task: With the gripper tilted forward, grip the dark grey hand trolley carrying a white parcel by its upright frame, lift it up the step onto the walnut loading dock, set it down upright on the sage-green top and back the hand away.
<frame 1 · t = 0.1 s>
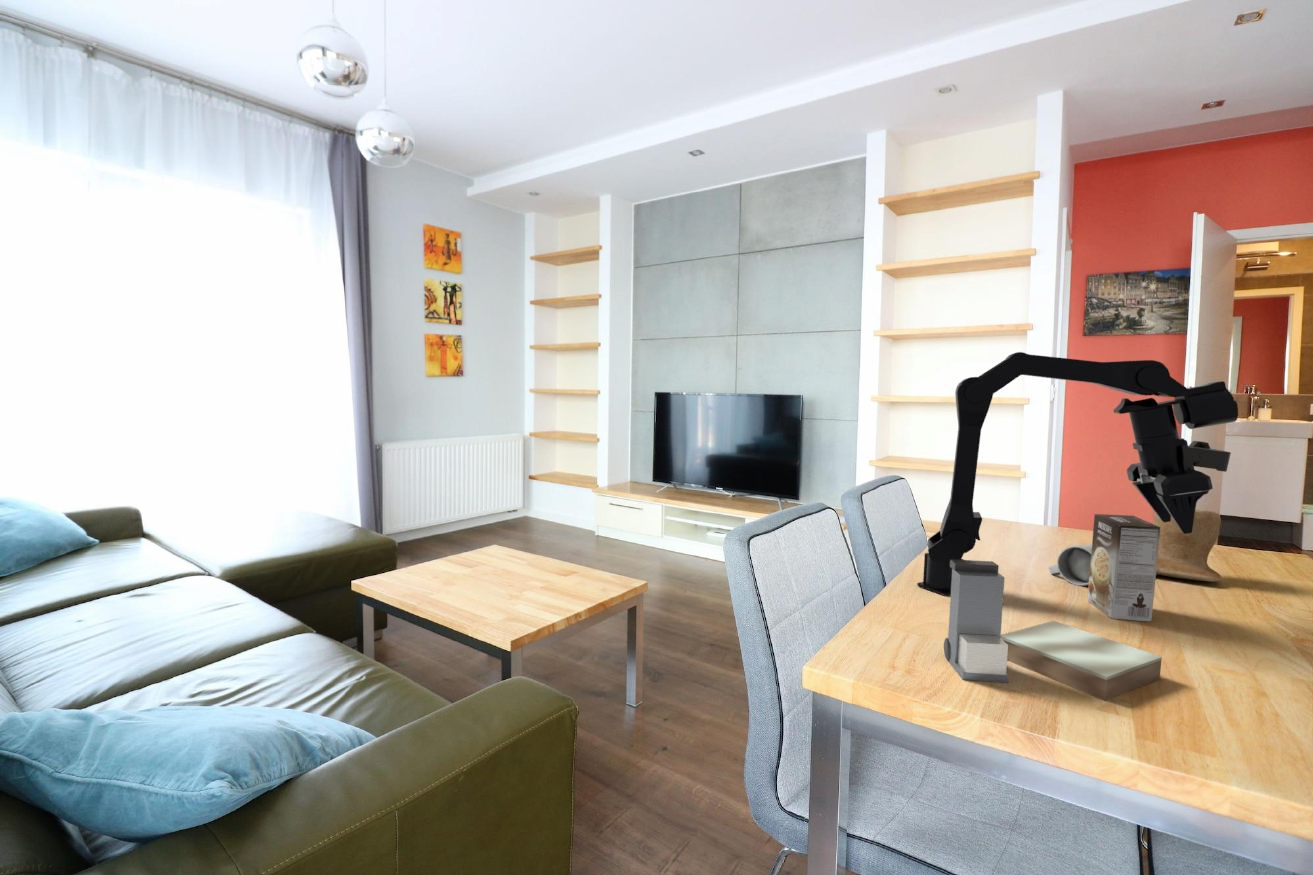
hand: (1176, 527, 104), 15 cm above the table, tool pointing down, fingers open, 9 cm apart
loading dock: (1075, 666, 87), on the table
ceramic mug: (1078, 581, 126), on the table
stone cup: (1171, 576, 131), on the table
hand trolley: (971, 665, 86), on the table
coffee box: (1118, 612, 109), on the table
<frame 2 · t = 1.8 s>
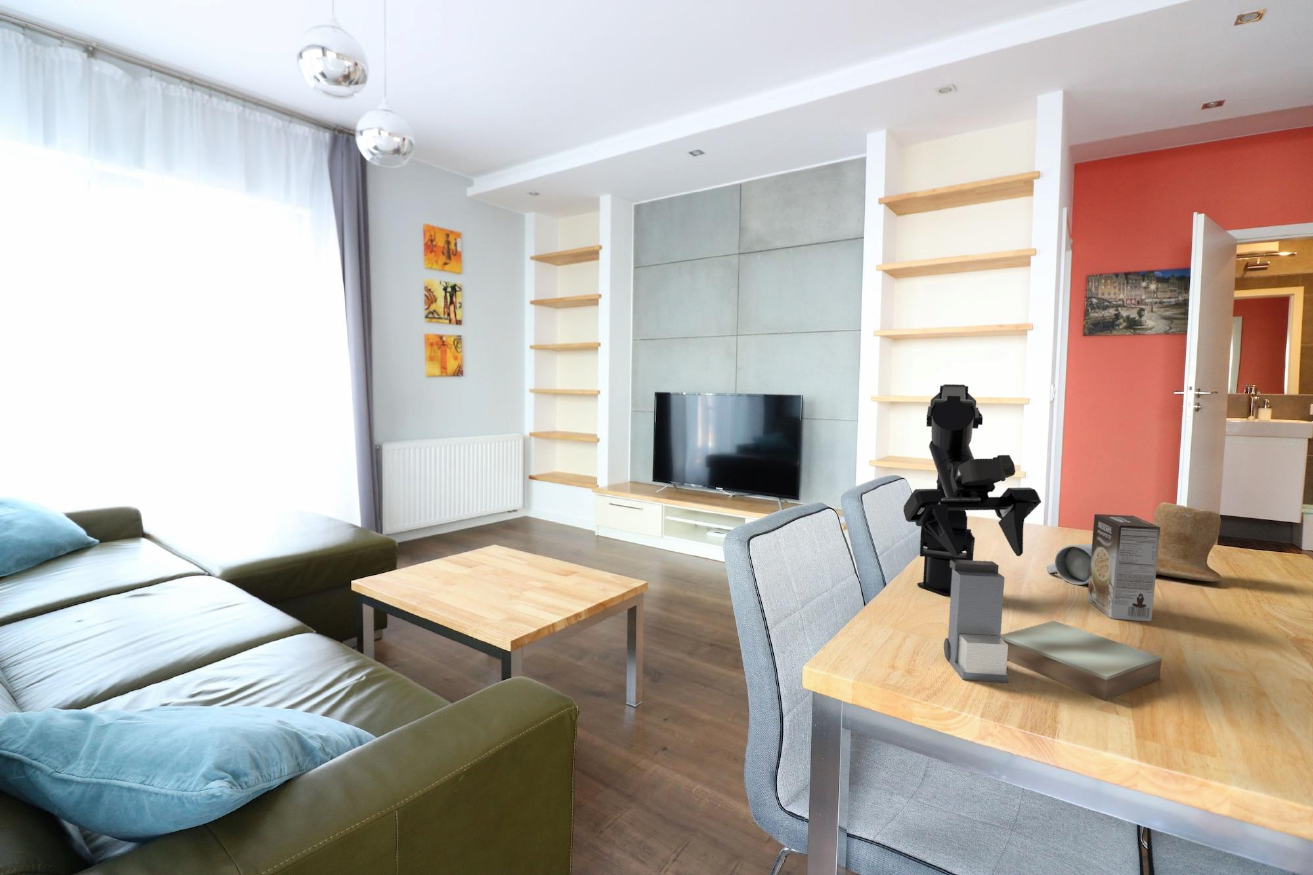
hand: (988, 555, 92), 14 cm above the table, tool tilted 40°, fingers open, 9 cm apart
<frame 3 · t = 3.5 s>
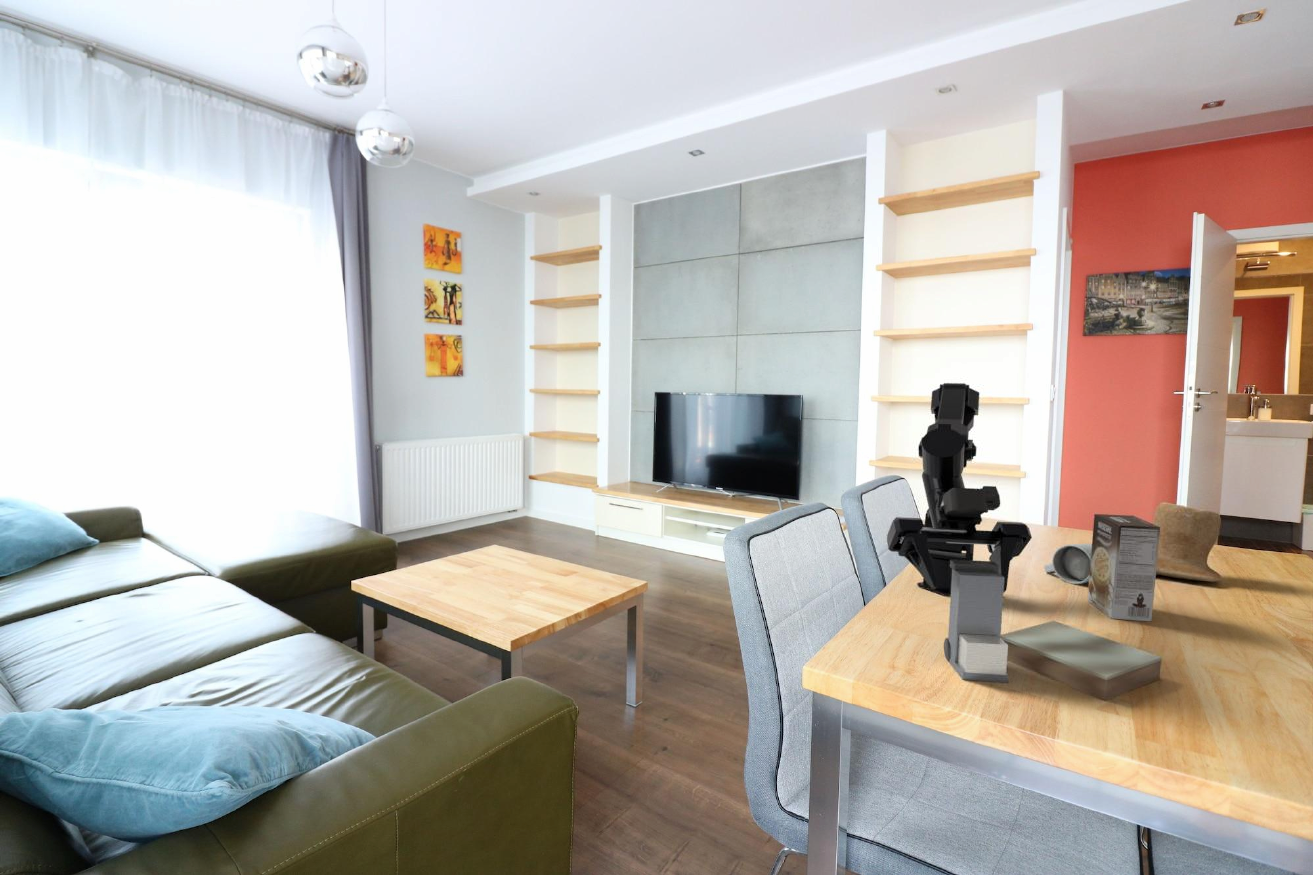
hand: (969, 589, 88), 10 cm above the table, tool tilted 45°, fingers open, 9 cm apart
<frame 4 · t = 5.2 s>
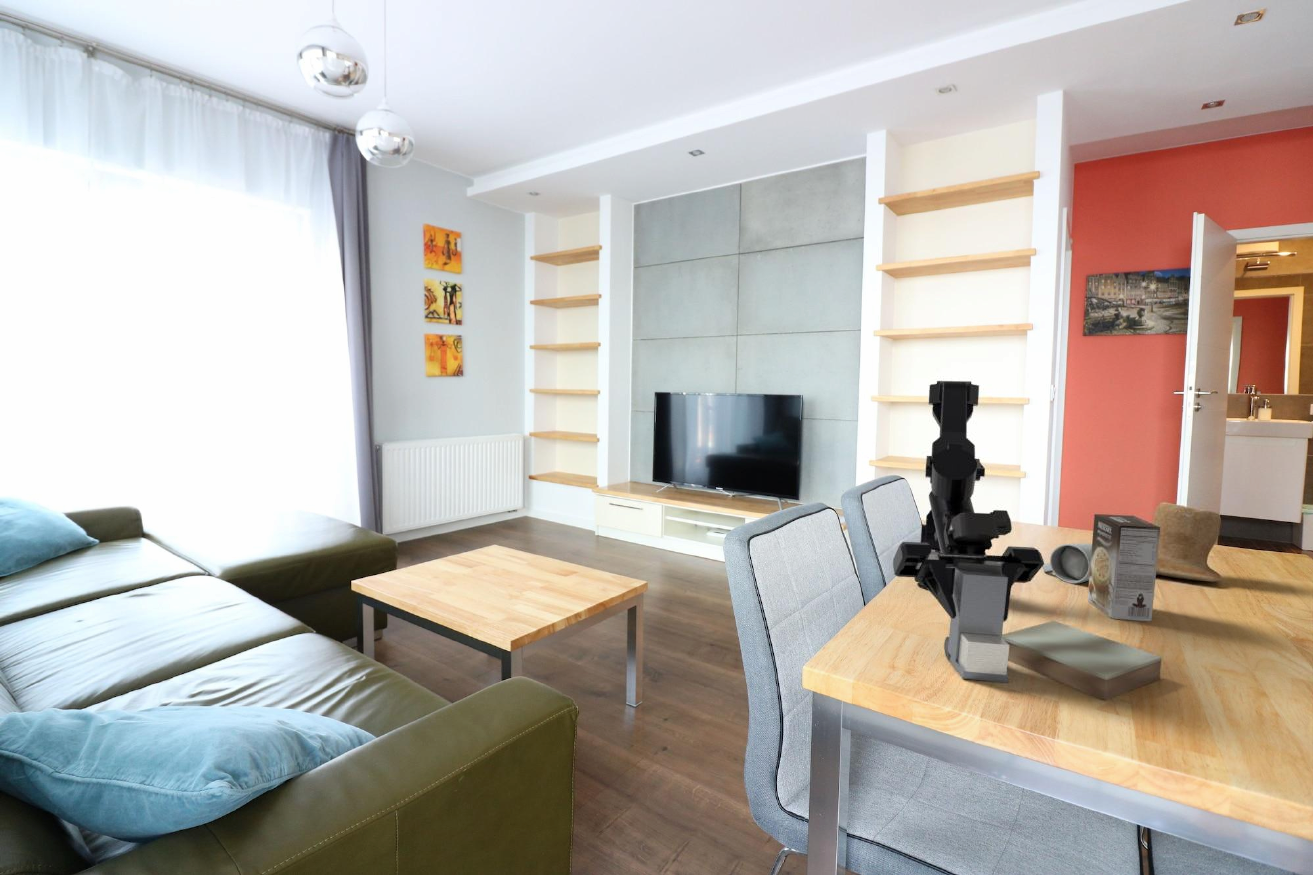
hand: (979, 618, 84), 7 cm above the table, tool tilted 45°, fingers closed on hand trolley, 6 cm apart
hand trolley: (972, 664, 86), on the table, touching gripper
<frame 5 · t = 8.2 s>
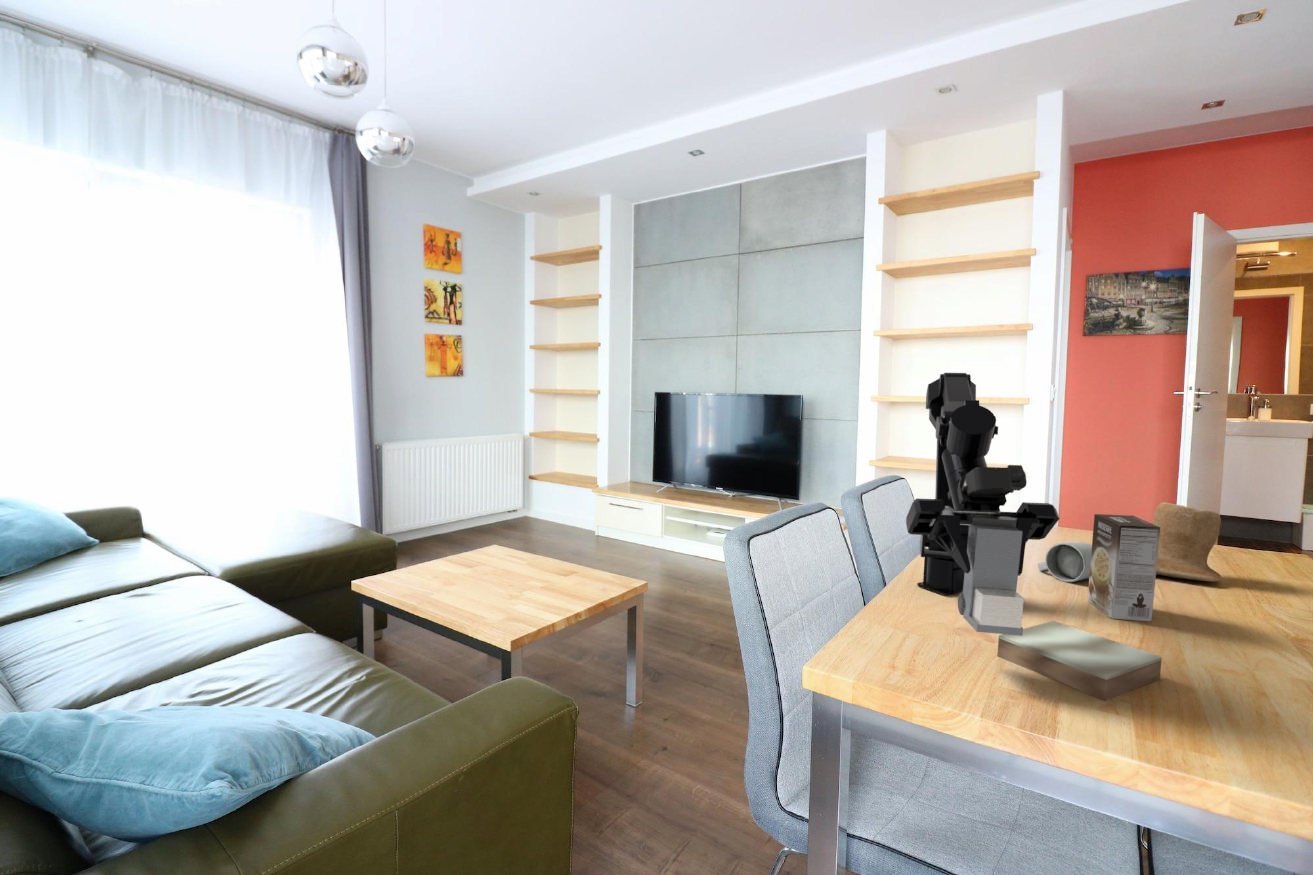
hand: (993, 573, 84), 13 cm above the table, tool tilted 45°, fingers closed on hand trolley, 6 cm apart
hand trolley: (985, 620, 86), point 6 cm above the table, touching gripper
when the fingers open (11 cm above the table, at t = 11.0 s): hand trolley drops 1 cm, resting on loading dock.
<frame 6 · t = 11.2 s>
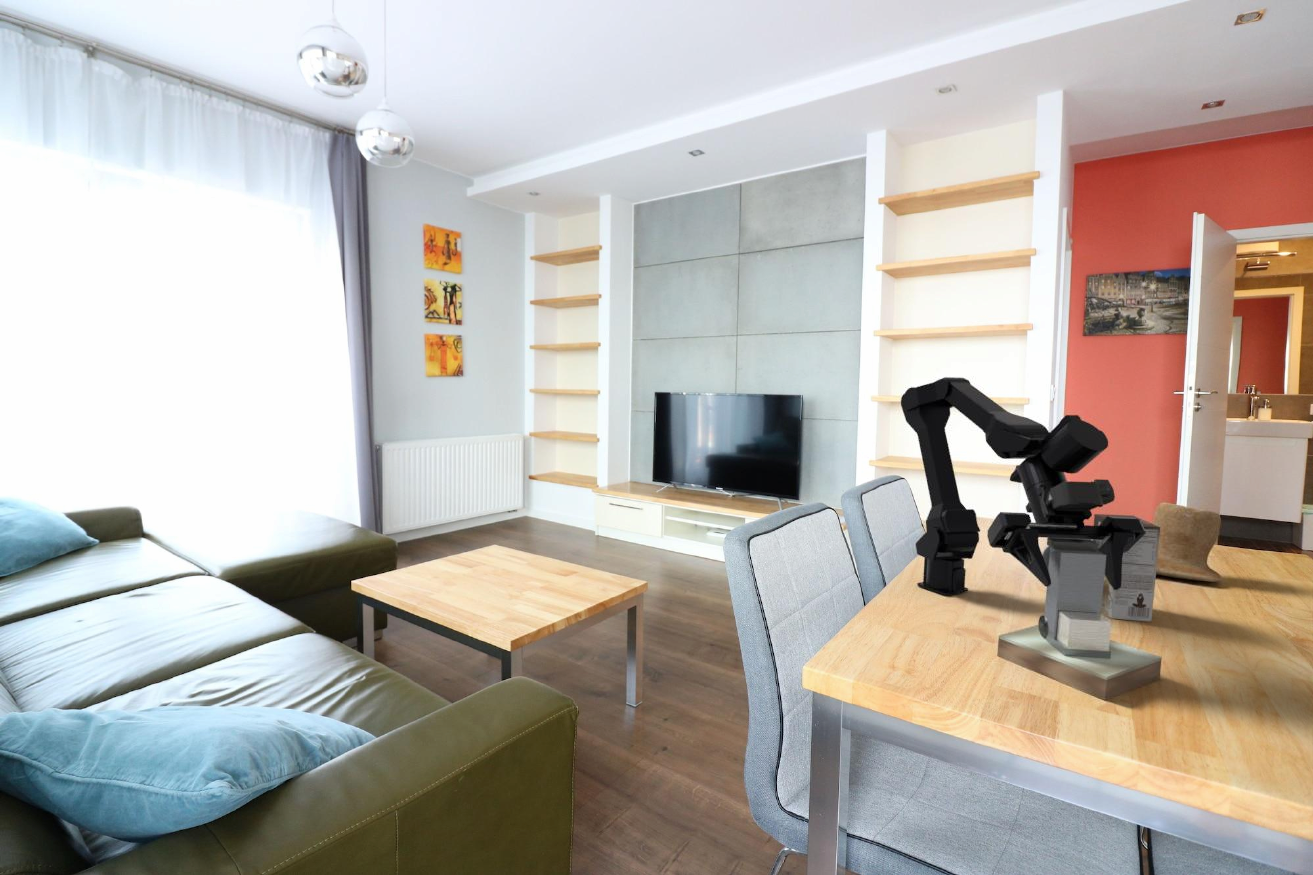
hand: (1083, 586, 85), 12 cm above the table, tool tilted 45°, fingers open, 8 cm apart
hand trolley: (1069, 642, 87), point 3 cm above the table, touching loading dock
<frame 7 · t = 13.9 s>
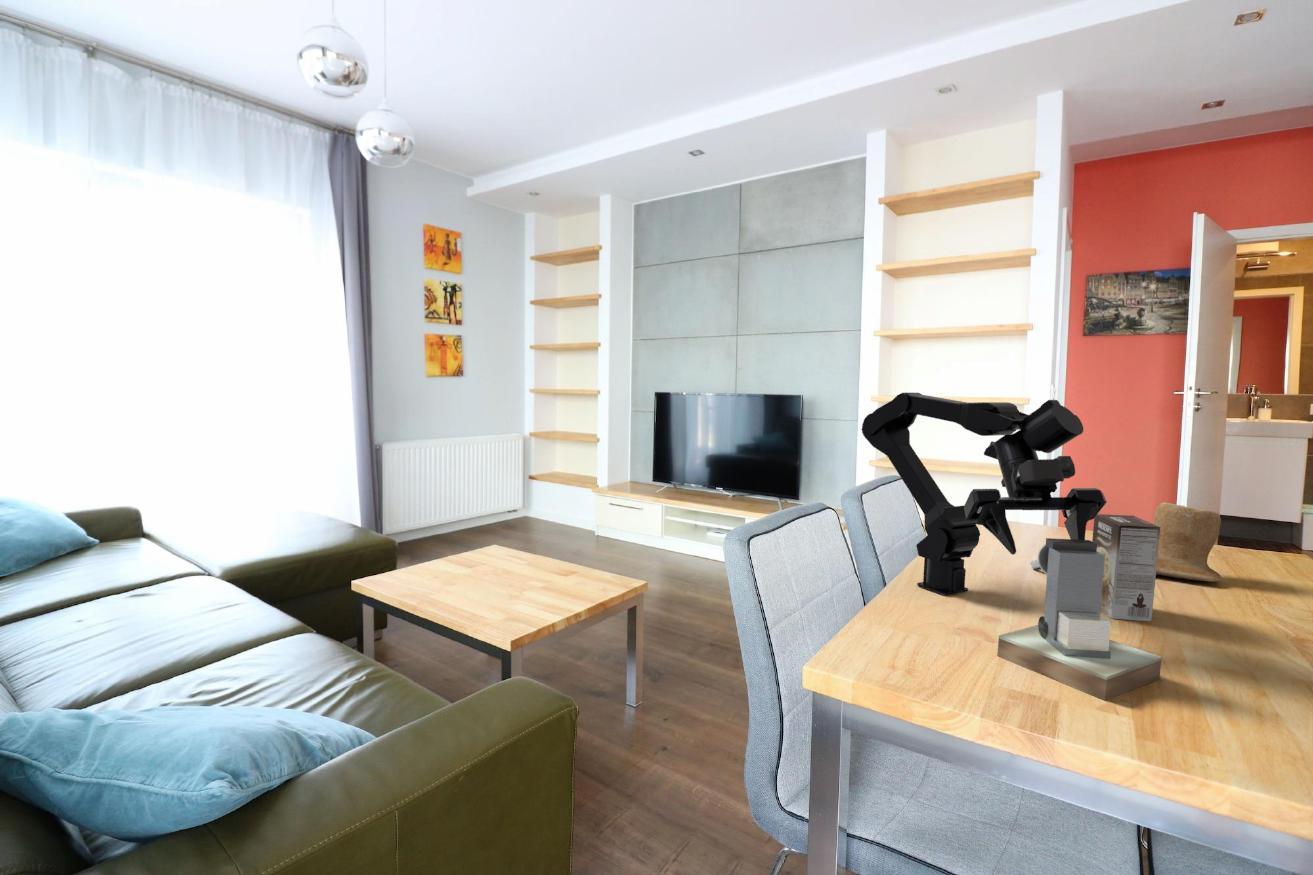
hand: (1047, 553, 94), 13 cm above the table, tool tilted 40°, fingers open, 9 cm apart
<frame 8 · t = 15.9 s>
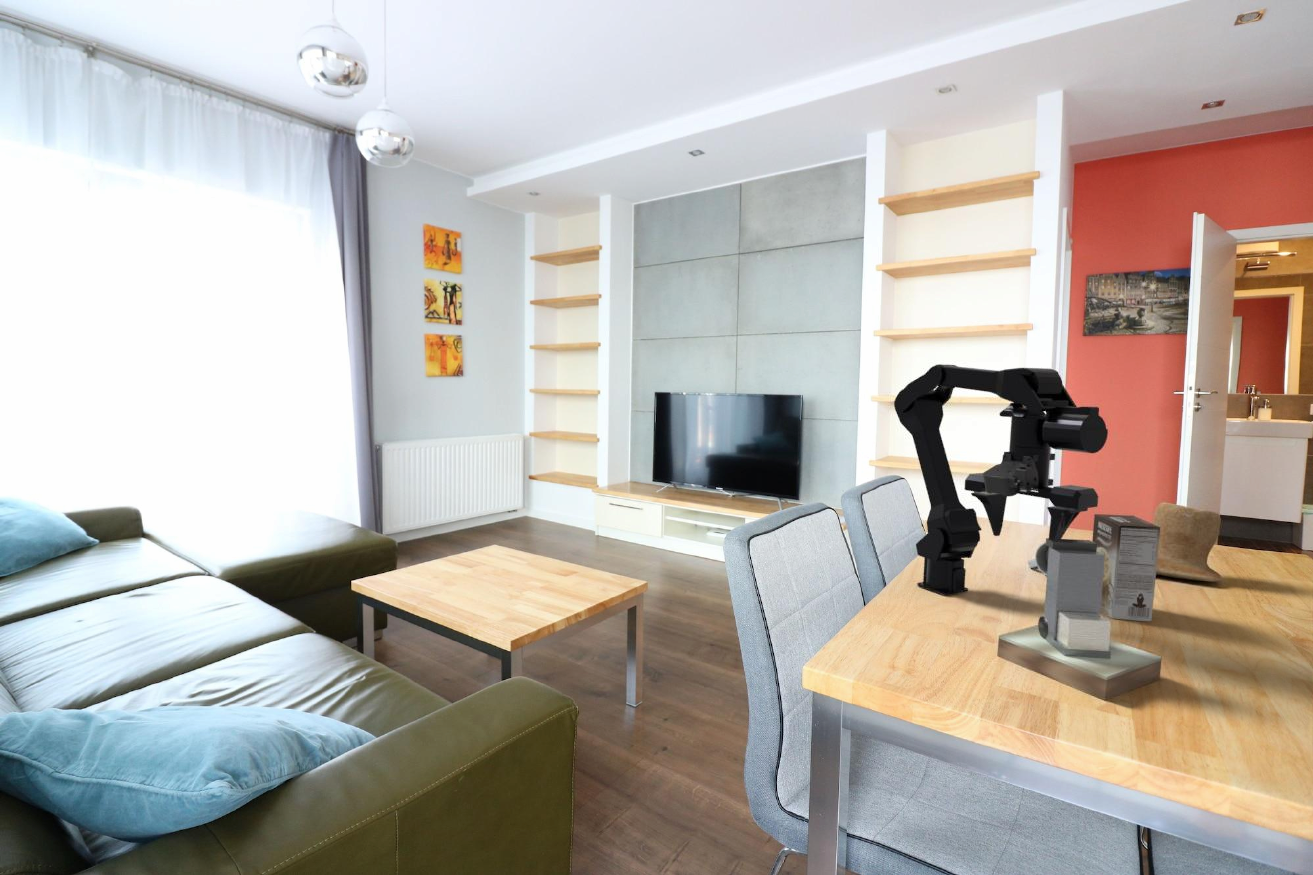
hand: (1023, 542, 103), 13 cm above the table, tool pointing down, fingers open, 9 cm apart
at the end: hand trolley inside the target area (1.1 cm from its centre), point 3.0 cm above the table; hand trolley tilted 0°; the gripper is holding nothing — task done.
